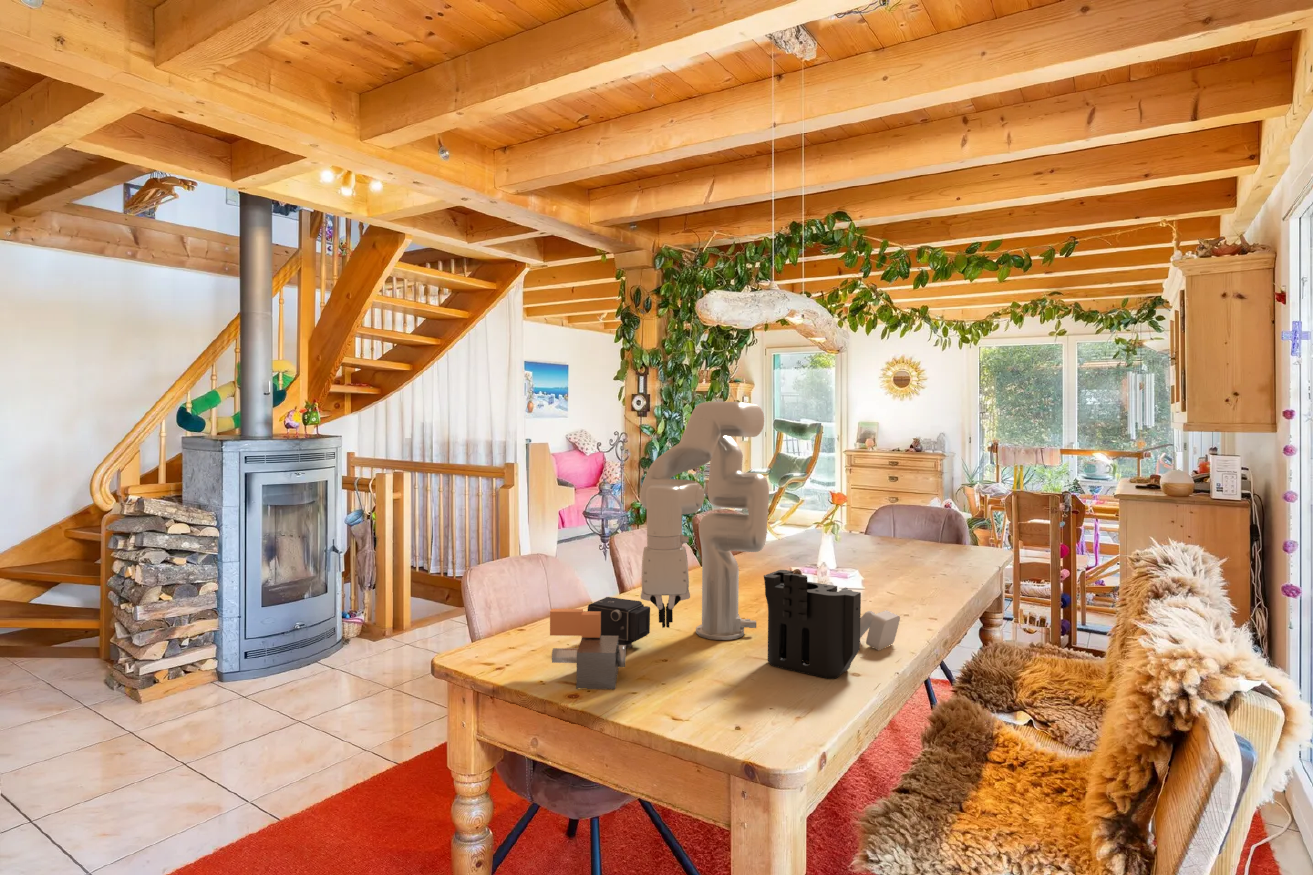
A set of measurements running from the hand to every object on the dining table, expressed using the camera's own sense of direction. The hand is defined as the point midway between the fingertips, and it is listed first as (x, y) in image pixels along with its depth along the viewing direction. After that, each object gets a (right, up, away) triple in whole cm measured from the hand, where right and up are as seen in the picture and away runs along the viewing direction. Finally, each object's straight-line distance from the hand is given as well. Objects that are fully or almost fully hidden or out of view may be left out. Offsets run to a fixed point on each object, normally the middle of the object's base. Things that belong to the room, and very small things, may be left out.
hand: (665, 625), depth 159 cm
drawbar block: (-15, -11, -1) cm, 18 cm away
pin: (-17, -9, -1) cm, 19 cm away
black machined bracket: (+32, -12, +6) cm, 35 cm away
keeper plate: (-20, -3, +4) cm, 21 cm away
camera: (-11, -11, +23) cm, 28 cm away
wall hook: (+52, -11, +25) cm, 58 cm away
